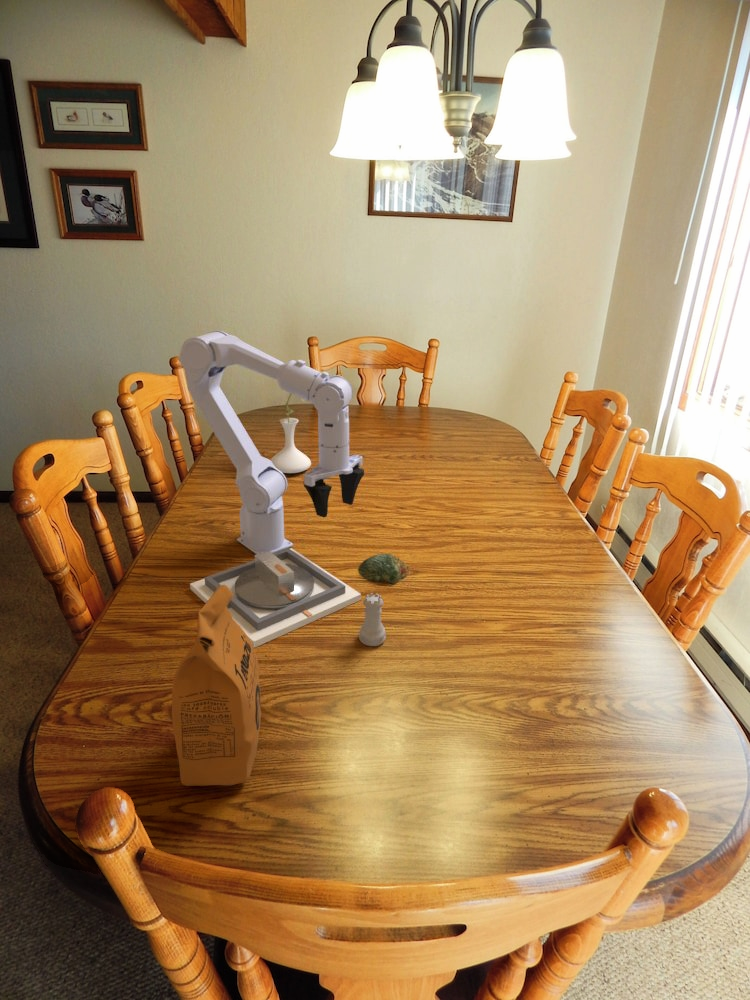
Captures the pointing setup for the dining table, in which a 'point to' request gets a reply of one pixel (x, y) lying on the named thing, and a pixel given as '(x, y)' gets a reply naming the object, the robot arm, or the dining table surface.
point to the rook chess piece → (372, 622)
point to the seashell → (383, 568)
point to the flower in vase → (290, 448)
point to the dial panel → (281, 621)
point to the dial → (273, 583)
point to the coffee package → (217, 700)
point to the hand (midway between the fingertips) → (335, 509)
